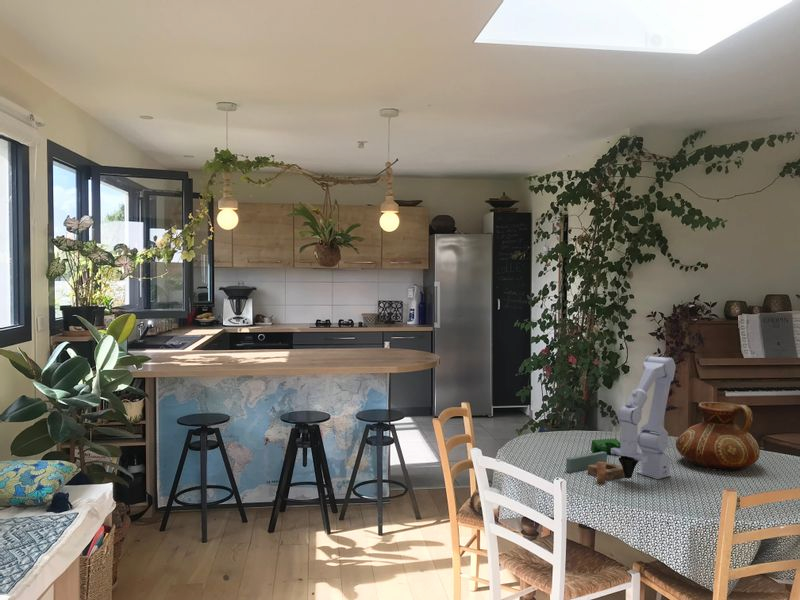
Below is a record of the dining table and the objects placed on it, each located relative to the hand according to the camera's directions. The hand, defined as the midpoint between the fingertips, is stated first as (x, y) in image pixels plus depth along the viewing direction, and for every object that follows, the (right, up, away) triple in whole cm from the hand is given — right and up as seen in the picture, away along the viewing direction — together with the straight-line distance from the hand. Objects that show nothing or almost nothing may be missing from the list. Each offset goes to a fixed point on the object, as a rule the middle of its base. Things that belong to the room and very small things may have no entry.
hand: (628, 477), depth 236 cm
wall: (-10, -1, +17) cm, 20 cm away
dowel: (-10, -1, -1) cm, 10 cm away
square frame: (-5, -1, +8) cm, 10 cm away
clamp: (+4, -1, +38) cm, 38 cm away
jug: (+43, -1, +24) cm, 49 cm away
